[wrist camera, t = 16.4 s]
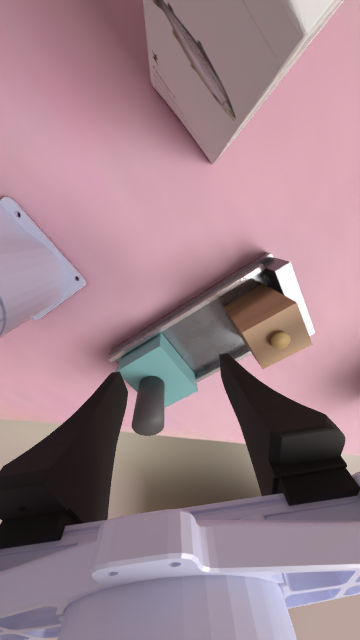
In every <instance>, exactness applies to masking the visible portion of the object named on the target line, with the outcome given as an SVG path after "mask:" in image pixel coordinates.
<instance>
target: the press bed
mask: <svg viewBox="0 0 360 640" xmlns="http://www.w3.org/2000/svg"><path fill="white" fill-rule="evenodd" d="M261 284H265V285H266V286H268V287H270V288H272V289H274V290H275V291H277V292H279V293H281V294H283V295H284V296H286V297H288V298H290V299H292V300H293V301H295V302H297V304H298V307H299V310H300V312H301V315H302V318H303V320H304V323H305V326H306V328H307V331H308V334H309V336H310V335H312V334H314V333H315V331H314V328H313V325H312V322H311V319H310V317H309V314H308V311H307V308H306V305H305V302H304V299H303V297H302V294H301V291H300V288H299V285H298V282H297V279H296V277H295V274H294V271H293V268H292V265H291V262H289V261H285V260H281V259H277V258H273V255H272V253H268V252H267V253H265V254H264V255H262V256H260V257H259V258H257V259H256V260H254V261H252V262H251V263H249V264H248V265H246V266H244V267H243V268H241V269H240V270H238V271H236V272H235V273H233V274H231V275H230V276H228V277H227V278H225V279H223V280H222V281H220V282H219V283H217V284H215V285H214V286H212V287H211V288H209V289H207V290H206V291H204V292H203V293H201V294H199V295H198V296H196V297H195V298H193V299H191V300H190V301H188V302H187V303H185V304H183V305H182V306H180V307H179V308H177V309H175V310H174V311H172V312H171V313H169V314H167V315H166V316H164V317H163V318H161V319H159V320H158V321H156V322H155V323H153V324H151V325H150V326H148V327H147V328H145V329H143V330H142V331H140V332H139V333H137V334H135V335H134V336H132V337H130V338H129V339H127V340H126V341H124V342H122V343H121V344H119V345H118V346H116V347H114V348H113V349H111V351H110V353H109V354H110V357H109V359H108V361H110V362H113V361H115V360H116V361H117V362H118V363H119V362H120V359H121V356H123V355H124V354H126V353H128V352H129V351H131V350H133V349H134V348H136V347H138V346H139V345H141V344H143V343H144V342H146V341H147V340H149V339H151V338H152V337H154V336H156V335H157V334H159V333H162V334H163V335H164V337H165V338H166V339H167V340H168V341H169V343H170V344H171V345H172V346H173V348H174V349H175V350H176V351H177V353H178V354H179V355H180V356H181V358H182V359H183V360H184V361H185V362H186V364H187V365H188V366H189V367H190V369H191V370H192V371H193V372H194V374H195V378H196V383H197V382H199V381H200V380H202V379H204V378H206V377H208V376H210V375H212V374H214V373H216V372H218V371H220V359H219V354H224V353H228V354H230V355H231V356H232V357H233V358H234V359H235V360H236V361H239V360H241V359H243V358H245V357H246V356H248V355H250V354H252V353H251V351H250V350H249V348H248V347H247V346H246V344H245V343H244V341H243V340H242V338H241V337H240V335H239V333H238V332H237V330H236V328H235V326H234V325H233V323H232V321H231V320H230V318H229V316H228V314H227V313H226V311H225V309H224V308H223V307H224V306H226V305H228V304H229V303H231V302H233V301H234V300H236V299H238V298H240V297H241V296H243V295H245V294H246V293H248V292H250V291H251V290H253V289H255V288H256V287H258V286H260V285H261Z"/></svg>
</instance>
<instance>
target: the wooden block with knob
mask: <svg viewBox="0 0 360 640" xmlns="http://www.w3.org/2000/svg"><path fill="white" fill-rule="evenodd" d="M223 308H224V309H225V311H226V313H227V314H228V316H229V318H230V320H231V321H232V323H233V325H234V326H235V328H236V330H237V332H238V333H239V335H240V337H241V338H242V340H243V341H244V343H245V344H246V346H247V347H248V348H249V350H250V351H251V353H252V354H253V356H254V357H255V359H256V360H257V362H258V363H259V364H260V366H261V367H262V369H264V368H266V367H268V366H270V365H272V364H274V363H276V362H278V361H280V360H282V359H284V358H286V357H288V356H290V355H292V354H294V353H296V352H298V351H300V350H302V349H304V348H306V347H308V346H310V345H312V342H311V339H310V336H309V334H308V331H307V328H306V326H305V323H304V320H303V318H302V315H301V312H300V310H299V307H298V304H297V302H295V301H293V300H292V299H290V298H288V297H286V296H284V295H283V294H281V293H279V292H277V291H275V290H274V289H272V288H270V287H268V286H266V285H265V284H261V285H260V286H258V287H256V288H255V289H253V290H251V291H250V292H248V293H246V294H245V295H243V296H241V297H240V298H238V299H236V300H234V301H233V302H231V303H229V304H228V305H226V306H224V307H223Z"/></svg>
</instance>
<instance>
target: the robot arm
mask: <svg viewBox="0 0 360 640" xmlns="http://www.w3.org/2000/svg"><path fill="white" fill-rule="evenodd" d="M18 212H20V214H21V217H19V216H18ZM76 276H77V277H79V280H77V279H76ZM85 285H86V280H85V279H84V278H83V276H82V275H81V274H80V273H79V272H78V271H77V270H76V269H75V268H74V266H73V265H72V264H71V263H70V262H69V261H68V260H67V259H66V258H65V256H64V255H63V254H62V253H61V252H60V251H59V250H58V249H57V247H56V246H55V245H54V244H53V243H52V242H51V241H50V240H49V239H48V237H47V236H46V235H45V234H44V233H43V232H42V231H41V230H40V228H39V227H38V226H37V225H36V224H35V223H34V222H33V221H32V220H31V218H30V217H29V216H28V215H27V214H26V213H25V212H24V211H23V210H22V208H21V207H20V206H19V205H18V204H17V203H16V202H15V201H14V200H13V199H12V198H10V197H3V198H2V199H1V200H0V338H1V337H2V336H4V335H5V334H7V333H8V332H10V331H11V330H13V329H14V328H16V327H18V326H19V325H21V324H22V323H24V322H25V321H27V320H28V319H30V318H32V319H33V320H39V319H40V318H42V317H43V316H44V315H46V314H47V313H48V312H50V311H51V310H52V309H54V308H55V307H57V306H58V305H59V304H61V303H62V302H63V301H65V300H66V299H67V298H69V297H70V296H72V295H73V294H74V293H76V292H77V291H78V290H80V289H81V288H82V287H84V286H85ZM219 359H220V370H221V378H222V381H223V384H224V388H225V390H226V393H227V395H228V398H229V400H230V402H231V405H232V407H233V409H234V412H235V414H236V416H237V418H238V421H239V424H240V426H241V429H242V433H243V436H244V439H245V442H246V445H247V448H248V451H249V454H250V458H251V461H252V464H253V467H254V470H255V473H256V477H257V481H258V484H259V488H260V491H261V494H262V496H260V497H254V498H247V499H241V500H234V501H228V502H221V503H214V504H208V505H201V506H195V507H188V508H181V509H167V510H161V511H154V512H147V513H141V514H134V515H128V516H121V517H116V518H112V519H109V520H107V518H108V507H109V495H110V487H111V479H112V471H113V464H114V457H115V451H116V445H117V440H118V436H119V433H120V429H121V425H122V421H123V417H124V413H125V409H126V405H127V397H128V391H127V388H126V386H125V383H124V381H123V378H122V376H121V373H120V371H119V372H113V373H111V374H110V375H109V376H108V377H107V378H106V380H105V381H104V382H103V383H102V384H101V385H100V387H99V388H98V389H97V390H96V391H95V392H94V393H93V395H92V396H91V397H90V398H89V399H88V400H87V401H86V402H85V403H84V404H83V405H82V406H81V407H80V408H79V409H78V410H77V411H76V412H75V413H74V414H73V415H72V416H71V417H70V418H69V419H68V420H67V421H65V422H64V423H63V424H62V425H61V426H60V427H58V428H57V429H56V430H55V431H53V432H52V433H51V434H50V435H49V436H47V437H46V438H44V439H43V440H42V441H40V442H39V443H38V444H36V445H35V446H34V447H32V448H31V449H29V450H28V451H26V452H25V453H23V454H22V455H20V456H19V457H17V458H16V459H14V460H13V461H11V462H10V463H8V464H6V465H5V466H3V468H2V469H1V471H0V519H1V520H3V521H2V522H1V524H0V640H38V639H52V638H58V639H57V640H297V638H296V635H295V632H294V629H293V625H292V622H291V619H290V616H289V613H288V609H289V608H294V607H299V606H303V605H308V604H313V603H318V602H323V601H328V600H332V599H337V598H342V597H347V596H352V595H356V594H360V472H358V473H355V474H354V475H352V476H351V475H350V473H349V472H348V470H347V469H346V467H347V465H346V463H345V461H344V460H343V459H342V457H341V453H342V450H343V447H344V444H345V436H344V434H343V433H342V432H341V431H340V429H339V428H338V427H337V426H336V425H335V424H334V423H333V422H332V421H331V420H330V419H329V418H328V417H327V416H326V415H325V414H323V413H321V412H318V411H316V410H313V409H311V408H308V407H306V406H303V405H301V404H299V403H297V402H295V401H293V400H291V399H289V398H287V397H285V396H283V395H281V394H280V393H278V392H276V391H274V390H273V389H271V388H269V387H268V386H266V385H265V384H263V383H262V382H261V381H259V380H258V379H257V378H255V377H254V376H253V375H251V374H250V373H249V372H248V371H247V370H245V369H244V368H243V367H242V366H241V365H240V364H239V363H238V362H237V361H236V360H235V359H234V358H233V357H232V356H231V355H230V354H228V353H224V354H219Z"/></svg>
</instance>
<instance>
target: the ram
mask: <svg viewBox="0 0 360 640" xmlns="http://www.w3.org/2000/svg"><path fill="white" fill-rule="evenodd" d="M119 371H120V373H121V376H122V378H123V379H124V380H125V381H126V382H127V383H128V384H129V385H130V386H131V387H133V388H134V389H135V390H136V391H137V392H138V393H137V399H136V404H135V410H134V415H133V421H132V429H133V430H134V431H135V432H136V433H138V434H140V435H145V436H151V435H155V434H158V433H159V432H161V431H162V430H163V428H164V408H165V407H167V406H169V405H171V404H173V403H175V402H177V401H179V400H181V399H183V398H185V397H187V396H189V395H191V394H193V393H194V392H196V391H198V388H197V383H196V378H195V374H194V372H193V371H192V370H191V369H190V367H189V366H188V365H187V364H186V362H185V361H184V360H183V359H182V358H181V356H180V355H179V354H178V353H177V351H176V350H175V349H174V348H173V346H172V345H171V344H170V343H169V341H168V340H167V339H166V338H165V337H164V335H163V334H162V333H159V334H157V335H156V336H154V337H152V338H151V339H149V340H147V341H146V342H144V343H143V344H141V345H139V346H138V347H136V348H134V349H133V350H131V351H129V352H128V353H126V354H124V355H123V356H121V359H120V362H119V365H118V367H117V370H116V372H119Z"/></svg>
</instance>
